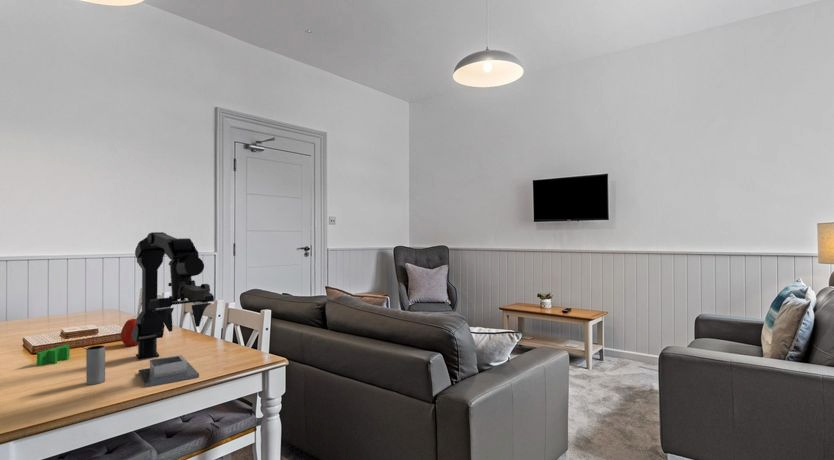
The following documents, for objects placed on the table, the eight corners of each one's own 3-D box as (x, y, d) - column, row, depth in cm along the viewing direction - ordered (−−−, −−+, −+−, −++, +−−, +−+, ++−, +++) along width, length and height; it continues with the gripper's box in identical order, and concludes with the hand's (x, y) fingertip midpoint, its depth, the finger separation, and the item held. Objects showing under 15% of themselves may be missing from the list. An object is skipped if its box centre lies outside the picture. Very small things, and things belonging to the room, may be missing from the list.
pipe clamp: (46, 367, 150) (46, 353, 150) (36, 366, 150) (36, 353, 150) (76, 357, 161) (76, 344, 161) (66, 357, 161) (66, 344, 161)
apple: (149, 344, 179) (149, 316, 179) (127, 348, 172) (127, 320, 172) (138, 341, 183) (138, 314, 183) (116, 345, 176) (116, 318, 176)
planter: (85, 385, 131) (84, 350, 131) (87, 381, 135) (87, 346, 135) (104, 383, 133) (103, 348, 133) (106, 378, 137) (106, 344, 137)
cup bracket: (138, 373, 142) (138, 358, 142) (187, 364, 151) (187, 351, 151) (145, 387, 130) (145, 371, 130) (199, 377, 138) (199, 362, 138)
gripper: (170, 277, 130) (173, 332, 128) (224, 274, 147) (227, 323, 145) (145, 281, 135) (148, 334, 133) (200, 277, 152) (203, 325, 150)
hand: (184, 329), depth 140 cm, fingers open, 9 cm apart
